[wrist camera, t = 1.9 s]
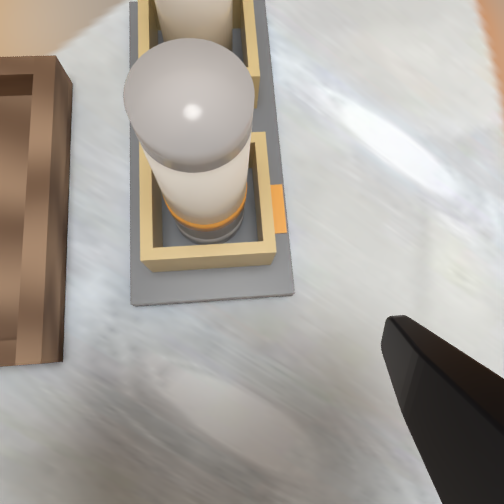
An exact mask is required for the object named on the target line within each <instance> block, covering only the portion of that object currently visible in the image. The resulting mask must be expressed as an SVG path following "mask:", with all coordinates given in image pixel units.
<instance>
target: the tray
mask: <svg viewBox="0 0 504 504" xmlns="http://www.w3.org/2000/svg"><path fill="white" fill-rule="evenodd" d="M72 84H73V83H72V82H71V80H70V78H69V77H68V75H67V74H66V72H65V70H64V69H63V67H62V65H61V64H60V62H59V60H58V59H57V57H56V56H23V57H0V367H2V366H14V365H27V364H40V363H52V362H63V338H64V310H65V281H66V253H67V225H68V197H69V169H70V141H71V113H72Z"/></svg>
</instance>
